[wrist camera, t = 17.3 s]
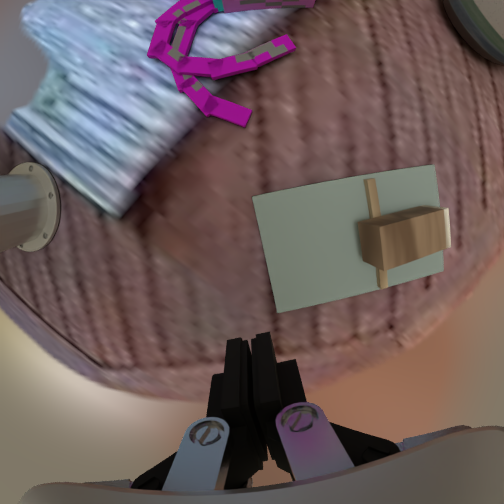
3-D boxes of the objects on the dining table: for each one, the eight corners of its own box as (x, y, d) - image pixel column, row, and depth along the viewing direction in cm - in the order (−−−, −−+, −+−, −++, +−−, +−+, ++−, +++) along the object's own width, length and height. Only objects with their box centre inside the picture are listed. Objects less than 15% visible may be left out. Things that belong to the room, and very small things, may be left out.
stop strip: (377, 285, 35) (380, 289, 34) (363, 179, 32) (367, 179, 31) (384, 284, 35) (388, 287, 34) (371, 178, 32) (375, 178, 31)
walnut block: (384, 271, 28) (450, 246, 29) (379, 227, 27) (448, 208, 28) (362, 261, 32) (427, 240, 33) (357, 221, 31) (423, 205, 32)
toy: (347, 113, 27) (146, 138, 27) (334, 122, 31) (161, 143, 32) (300, -65, 20) (142, -44, 21) (296, -45, 25) (153, -26, 26)
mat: (277, 311, 36) (277, 313, 36) (252, 196, 33) (251, 196, 33) (441, 269, 35) (443, 270, 34) (431, 164, 32) (434, 164, 31)
